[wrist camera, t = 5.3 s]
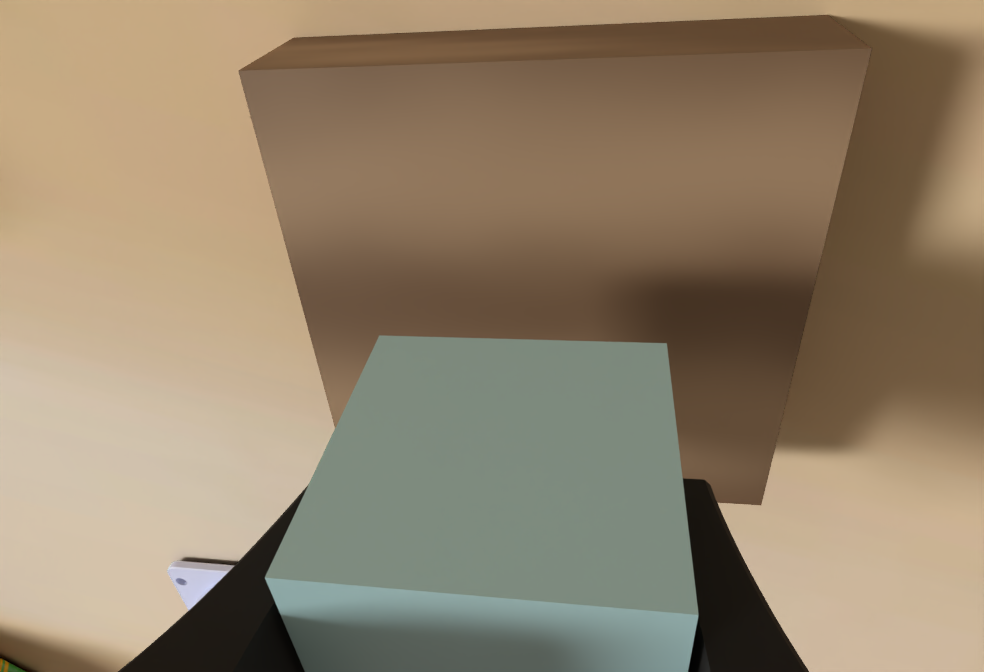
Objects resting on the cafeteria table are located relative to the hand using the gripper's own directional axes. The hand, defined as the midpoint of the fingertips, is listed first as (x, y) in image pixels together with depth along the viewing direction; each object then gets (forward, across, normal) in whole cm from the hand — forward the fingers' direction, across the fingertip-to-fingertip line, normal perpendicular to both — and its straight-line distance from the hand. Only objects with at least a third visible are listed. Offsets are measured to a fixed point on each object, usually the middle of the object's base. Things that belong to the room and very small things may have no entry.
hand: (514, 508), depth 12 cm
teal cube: (+2, 0, 0) cm, 2 cm away
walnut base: (+9, 0, 0) cm, 9 cm away
